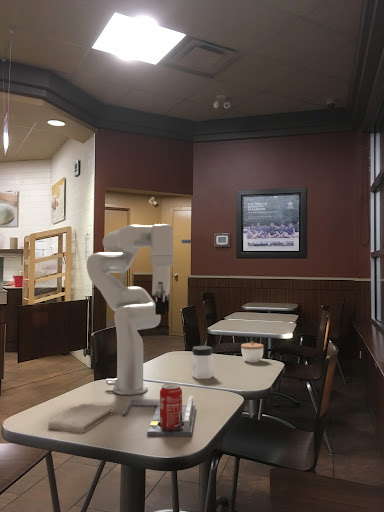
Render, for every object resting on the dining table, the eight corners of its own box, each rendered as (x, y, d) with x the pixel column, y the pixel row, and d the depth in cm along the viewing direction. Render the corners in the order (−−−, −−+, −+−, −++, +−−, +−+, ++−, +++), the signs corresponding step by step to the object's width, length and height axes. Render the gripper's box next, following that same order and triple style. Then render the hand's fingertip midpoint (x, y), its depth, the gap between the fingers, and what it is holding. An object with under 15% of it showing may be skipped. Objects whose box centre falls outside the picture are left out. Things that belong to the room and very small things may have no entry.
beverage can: (170, 422, 129) (170, 381, 129) (186, 427, 125) (186, 385, 125) (155, 428, 124) (155, 386, 124) (172, 434, 120) (171, 389, 120)
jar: (188, 375, 183) (188, 346, 184) (204, 373, 187) (204, 344, 188) (199, 380, 176) (199, 350, 176) (216, 377, 180) (216, 348, 180)
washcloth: (115, 414, 137) (115, 404, 138) (83, 435, 120) (83, 424, 120) (82, 410, 141) (82, 401, 141) (47, 431, 124) (47, 420, 124)
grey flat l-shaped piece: (122, 416, 134) (122, 414, 134) (132, 401, 149) (132, 398, 149) (161, 417, 133) (161, 414, 133) (167, 401, 149) (167, 399, 149)
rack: (147, 435, 119) (147, 420, 119) (158, 408, 141) (158, 395, 141) (191, 436, 118) (191, 420, 118) (195, 408, 141) (195, 395, 141)
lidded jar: (238, 359, 215) (238, 340, 215) (259, 358, 216) (259, 339, 217) (245, 364, 204) (244, 343, 204) (267, 363, 206) (266, 343, 206)
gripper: (154, 261, 155) (154, 310, 155) (146, 261, 138) (147, 316, 138) (175, 261, 155) (175, 310, 154) (170, 261, 137) (170, 316, 137)
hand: (162, 312), depth 146 cm, fingers open, 9 cm apart
